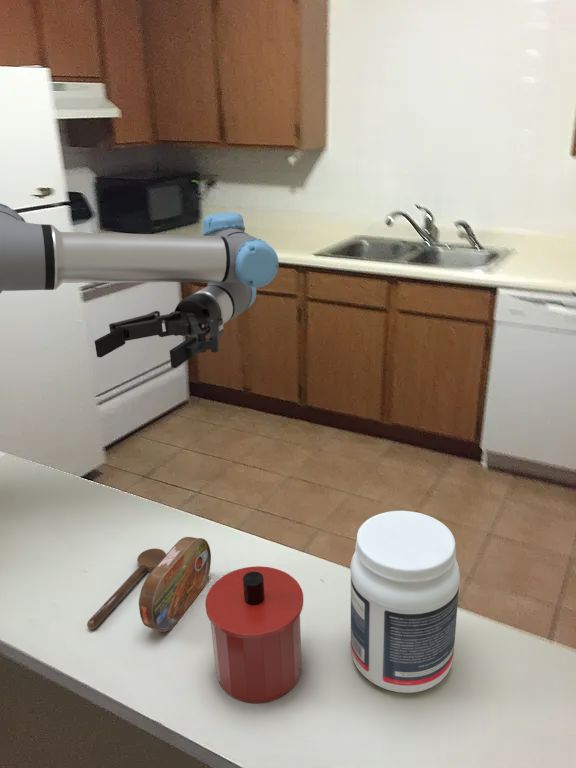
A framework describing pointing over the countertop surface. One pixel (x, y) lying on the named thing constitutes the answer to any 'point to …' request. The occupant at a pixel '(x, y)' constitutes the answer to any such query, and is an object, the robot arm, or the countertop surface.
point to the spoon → (128, 584)
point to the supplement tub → (404, 601)
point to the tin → (174, 583)
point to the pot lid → (254, 602)
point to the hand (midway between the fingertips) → (134, 354)
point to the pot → (258, 664)
